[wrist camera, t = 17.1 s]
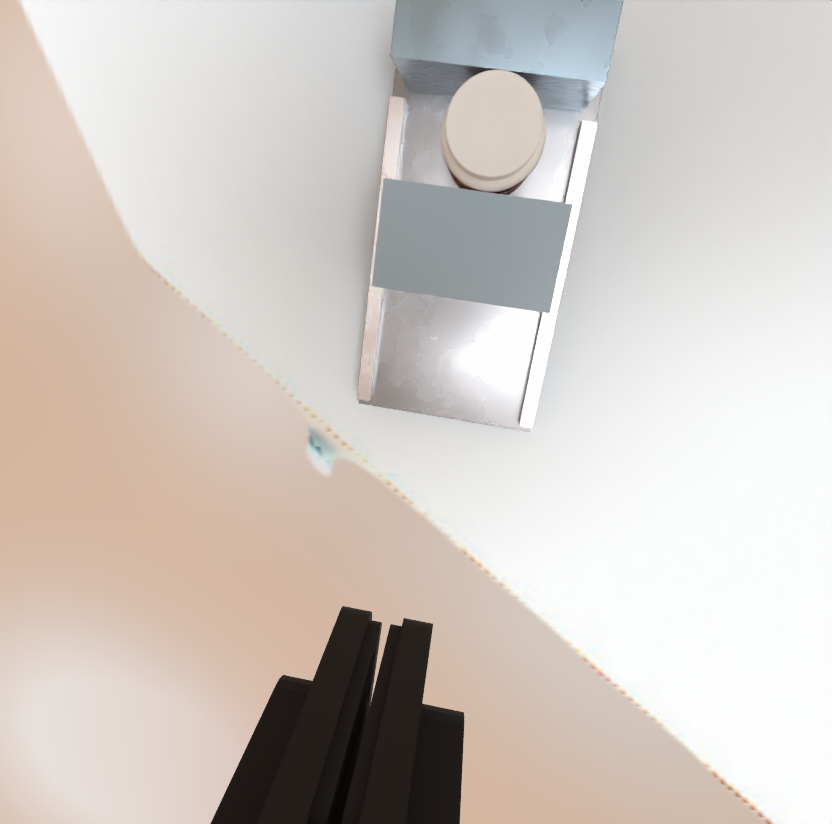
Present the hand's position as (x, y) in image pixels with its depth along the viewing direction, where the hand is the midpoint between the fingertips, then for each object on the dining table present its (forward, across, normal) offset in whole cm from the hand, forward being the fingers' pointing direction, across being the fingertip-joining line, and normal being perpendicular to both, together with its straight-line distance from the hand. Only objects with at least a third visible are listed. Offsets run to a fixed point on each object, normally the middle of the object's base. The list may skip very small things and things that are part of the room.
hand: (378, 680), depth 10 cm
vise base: (+27, 0, -8) cm, 28 cm away
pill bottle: (+26, 0, -12) cm, 29 cm away
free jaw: (+25, 0, -7) cm, 26 cm away
